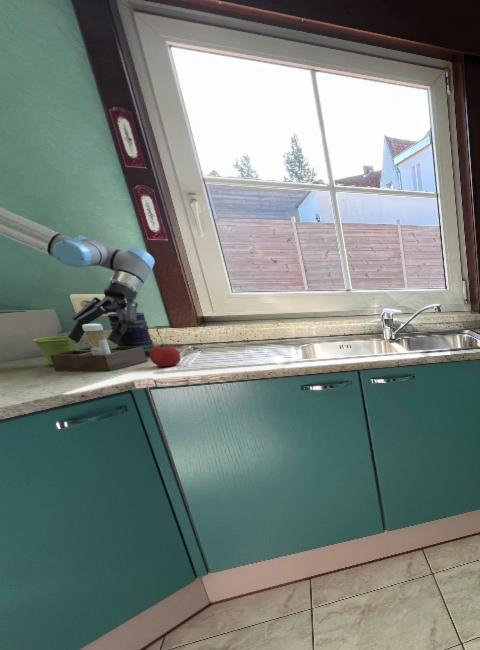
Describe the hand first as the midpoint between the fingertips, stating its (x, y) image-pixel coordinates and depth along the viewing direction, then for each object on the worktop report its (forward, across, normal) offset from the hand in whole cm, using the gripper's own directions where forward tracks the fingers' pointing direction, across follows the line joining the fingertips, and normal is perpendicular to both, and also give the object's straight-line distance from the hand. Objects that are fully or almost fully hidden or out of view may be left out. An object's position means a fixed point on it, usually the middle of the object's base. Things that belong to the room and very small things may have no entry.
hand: (92, 340), depth 158 cm
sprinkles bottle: (+5, 0, -7) cm, 9 cm away
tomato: (+1, -15, -12) cm, 20 cm away
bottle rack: (+4, +4, -10) cm, 11 cm away
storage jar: (-8, +8, -21) cm, 24 cm away
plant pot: (+4, +18, -9) cm, 21 cm away
